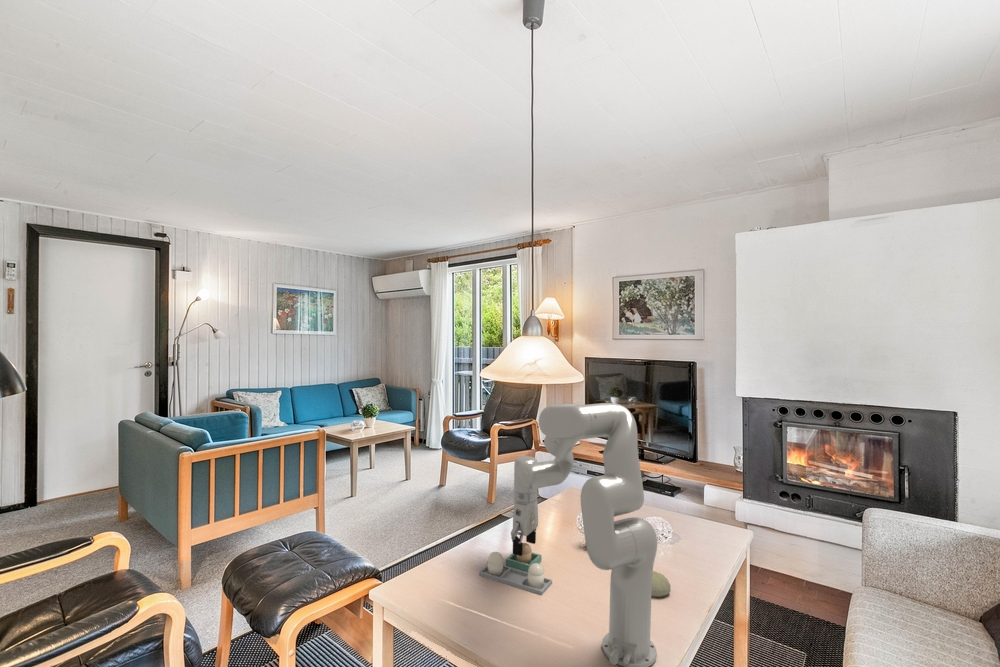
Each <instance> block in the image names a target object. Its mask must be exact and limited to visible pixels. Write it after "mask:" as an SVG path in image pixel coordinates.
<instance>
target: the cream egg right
mask: <svg viewBox="0 0 1000 667" xmlns="http://www.w3.org/2000/svg"><path fill="white" fill-rule="evenodd" d="M527 573H528V586H529V587H532V588H535V589H539V590H540V589H542V588H543V587H544V578H545V569H544V567H543V566H542V564H541V563H540V564H538V563H534V564H532V565H530V567H529V569H528V572H527Z"/></svg>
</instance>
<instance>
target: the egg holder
mask: <svg viewBox="0 0 1000 667" xmlns="http://www.w3.org/2000/svg"><path fill="white" fill-rule="evenodd" d="M542 558H543V557H542V554H539V553H535V552H532V554H531V563H530V564H526V563H522V562H519V561H517V555H516V554H513V552H512V553H511V554H510V555H509V556H508V557H507V558H505V566H507V567H511V568H514V569H517V570H521V571H524V572H527V573H528V569H529V567H530V565H532V564H534V563H538V564H540V565H541V563H542Z"/></svg>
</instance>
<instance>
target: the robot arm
mask: <svg viewBox="0 0 1000 667" xmlns="http://www.w3.org/2000/svg"><path fill="white" fill-rule="evenodd" d="M538 417H539V418H538V426H539V427H538V428H539V429H540V431H541V433H542V434H543V436H545V437H544V440H543V445H544V447H545V449H546V451H547V452H548V453H549V454H550V455H551V456H553V457H554V459H553V460H546V461H538V460H537V458H536V457H534V456H529V455H521V456H518V457H516V458H515V460H514V463H513V464H514V468H513V469H514V470H513V472H514V474H513V502H514V505H513V514H512V528H511V531H510V536H511V541H512V553H513V554H516V555H519V556H522V549H523V543H524V542H523V538H524V537H525V538H526V539H525V540H526V542H525V543H527V544H533V545H536V542H537V541H536V540H537V539H536V538H537V536H536V534H537V528H538V527H539V508H538V507H539V506H538V505H539V504H538V489H543V488H547V487H553V486H557V485H561V484H562V483H563V482H564V481H565V480H566V479H567V478H568V477H569V475H570V474H571V473H572V470H573V468H574V454H573V452H572V451H573V450H574V449H575V446H576V445H577V443H578V442H579V440H580V441H581V440H588V439H594V438H595V439H596V438H602V437H607V441H606V443H605V445H604V449H603V453H602V459H603V468H604V474H603V475H597V476H594V477H590V478H589V479H587V480H586V481H585V483H583V486H582V488H581V491H580V508H581V509H580V510H581V516H582V524H583V535H584V541H585V542H584V543H585V546H586V547H585V548H586V551H587V555H588V557H589V559H590V561H591V563H592V565H593V566H594V567H596V568H597V569H599V570H602V571H610V570H611V572H610V581H609V583H610V585H609V586H610V587H609V616H608V617H609V622H608V623H609V624H608V626H609V627H608V633H606V634H605V635H604V636H603V638H602V641H601V647H602V651H603V653H604V654H605V656H606V657H607V658H608V660H609V663H611V665H614V666H615V665H619V666H621V667H650V666H652V665H654V664H655V662H656V660H657V658H658V657H657V655H658V652H657V648H656V646H655V644H654V643H653V642H652V641H651V625H652V624H651V623H652V622H651V618H652V596H651V591H652V572H653V571H654V564H655V559H656V555H657V551H658V537H657V533H656V530H655V528H654V527H653V525H652V524H651V523H650V522H649V521H647V520H645V519H644V518H641V517H626V518H623V519H618V520H614V519H615V517H618V516H623V515H626V514H630V513H634V512H636V511H638V510H640V509H641V508H642V507H643V505H644V502H645V492H644V486H643V478H642V470H641V464H640V459H639V453H638V452H639V451H638V450H639V448H638V426H637V422H636V419H635V416H634V415H633V414H632V413H631V411H630V410H629V409H628V408H627V407H626V406H624V405H621V404H619V403H614V402H601V403H592V404H591V403H590V404H577V403H563V404H562V403H561V404H549V405H547V406H546V407H544V408H543V409H542V411H541V412H540V414H539V416H538Z"/></svg>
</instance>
